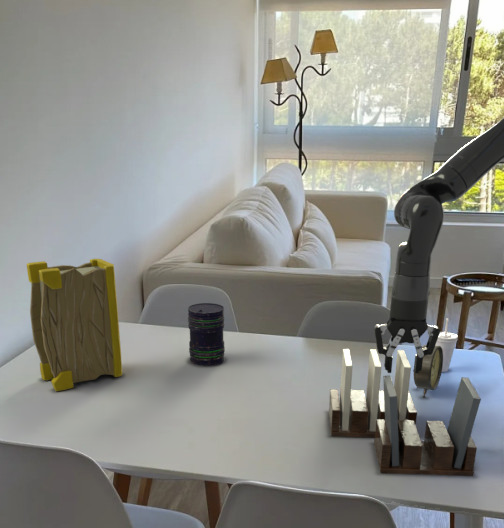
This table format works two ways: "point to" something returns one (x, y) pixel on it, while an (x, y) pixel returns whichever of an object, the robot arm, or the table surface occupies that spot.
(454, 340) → the smoothie
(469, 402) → the grey book
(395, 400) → the grey book
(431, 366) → the alarm clock
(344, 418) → the ivory book
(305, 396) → the table surface
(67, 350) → the decorative book
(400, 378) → the ivory book
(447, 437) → the book stands
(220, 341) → the black barrel
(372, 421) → the ivory book
